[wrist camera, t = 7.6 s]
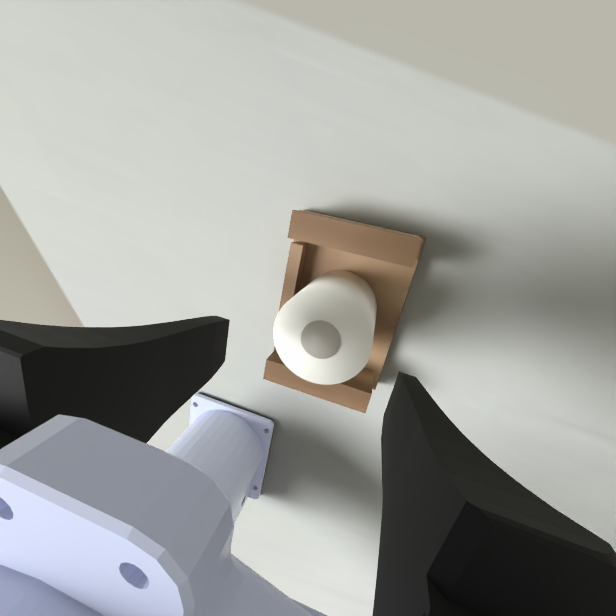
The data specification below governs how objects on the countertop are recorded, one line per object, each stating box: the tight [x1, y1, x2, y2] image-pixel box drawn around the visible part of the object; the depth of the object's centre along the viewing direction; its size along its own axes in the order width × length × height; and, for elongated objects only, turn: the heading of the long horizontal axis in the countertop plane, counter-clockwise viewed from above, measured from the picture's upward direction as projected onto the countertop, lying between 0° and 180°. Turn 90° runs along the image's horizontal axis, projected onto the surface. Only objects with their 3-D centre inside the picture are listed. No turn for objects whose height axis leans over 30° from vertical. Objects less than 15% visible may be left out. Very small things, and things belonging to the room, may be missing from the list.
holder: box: [263, 210, 426, 413], centre depth 19 cm, size 11×8×4 cm
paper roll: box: [273, 270, 377, 385], centre depth 17 cm, size 5×5×6 cm
